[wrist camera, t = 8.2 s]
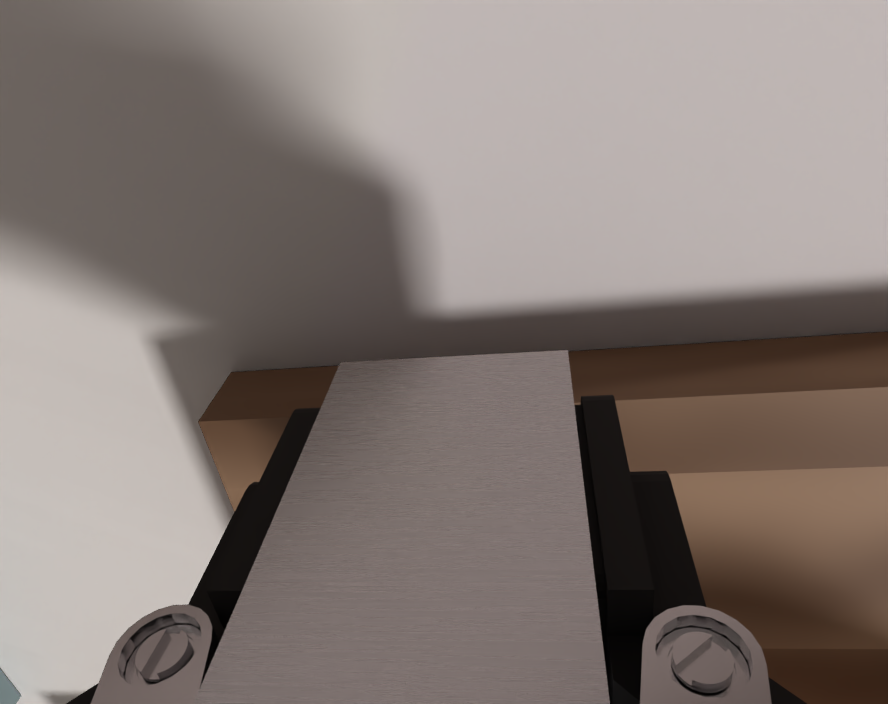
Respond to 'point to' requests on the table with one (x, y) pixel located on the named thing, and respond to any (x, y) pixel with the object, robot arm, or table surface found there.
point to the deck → (715, 482)
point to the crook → (426, 547)
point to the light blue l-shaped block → (7, 691)
